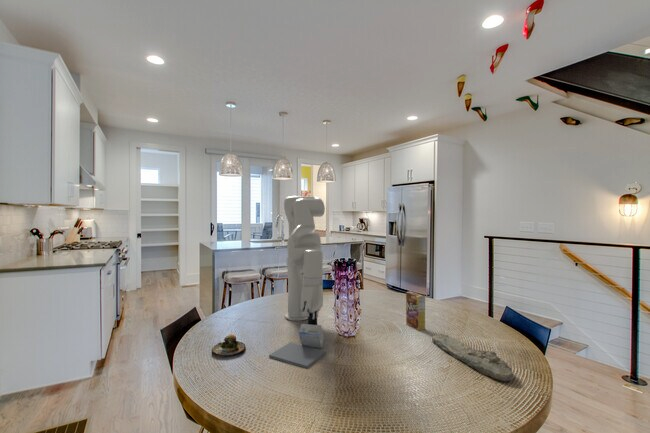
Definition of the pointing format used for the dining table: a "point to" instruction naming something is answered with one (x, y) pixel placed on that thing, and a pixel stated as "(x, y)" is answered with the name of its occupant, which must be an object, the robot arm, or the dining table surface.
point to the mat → (298, 354)
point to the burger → (229, 346)
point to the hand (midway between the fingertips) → (312, 328)
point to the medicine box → (311, 335)
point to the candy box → (415, 310)
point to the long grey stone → (475, 358)
